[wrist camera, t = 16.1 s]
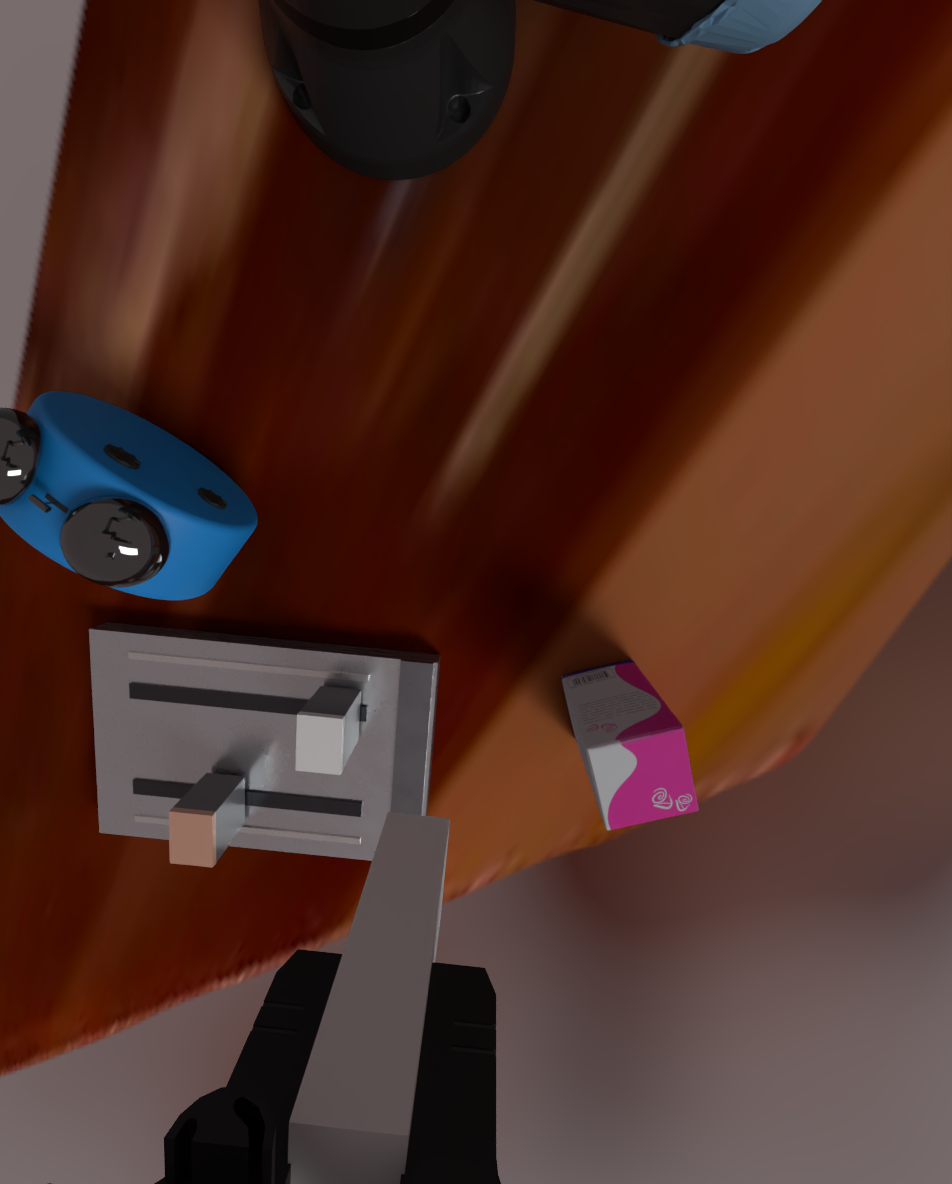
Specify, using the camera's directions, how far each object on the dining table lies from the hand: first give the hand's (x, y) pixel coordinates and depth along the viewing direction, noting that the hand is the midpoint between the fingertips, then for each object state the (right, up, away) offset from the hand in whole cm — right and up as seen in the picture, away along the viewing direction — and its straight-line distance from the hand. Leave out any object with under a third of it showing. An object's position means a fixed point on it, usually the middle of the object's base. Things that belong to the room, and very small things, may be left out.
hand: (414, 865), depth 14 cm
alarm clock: (-19, +14, +28) cm, 37 cm away
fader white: (-9, -2, +28) cm, 30 cm away
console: (-15, -5, +31) cm, 35 cm away
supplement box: (+12, -2, +30) cm, 32 cm away
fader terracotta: (-18, -9, +30) cm, 36 cm away
